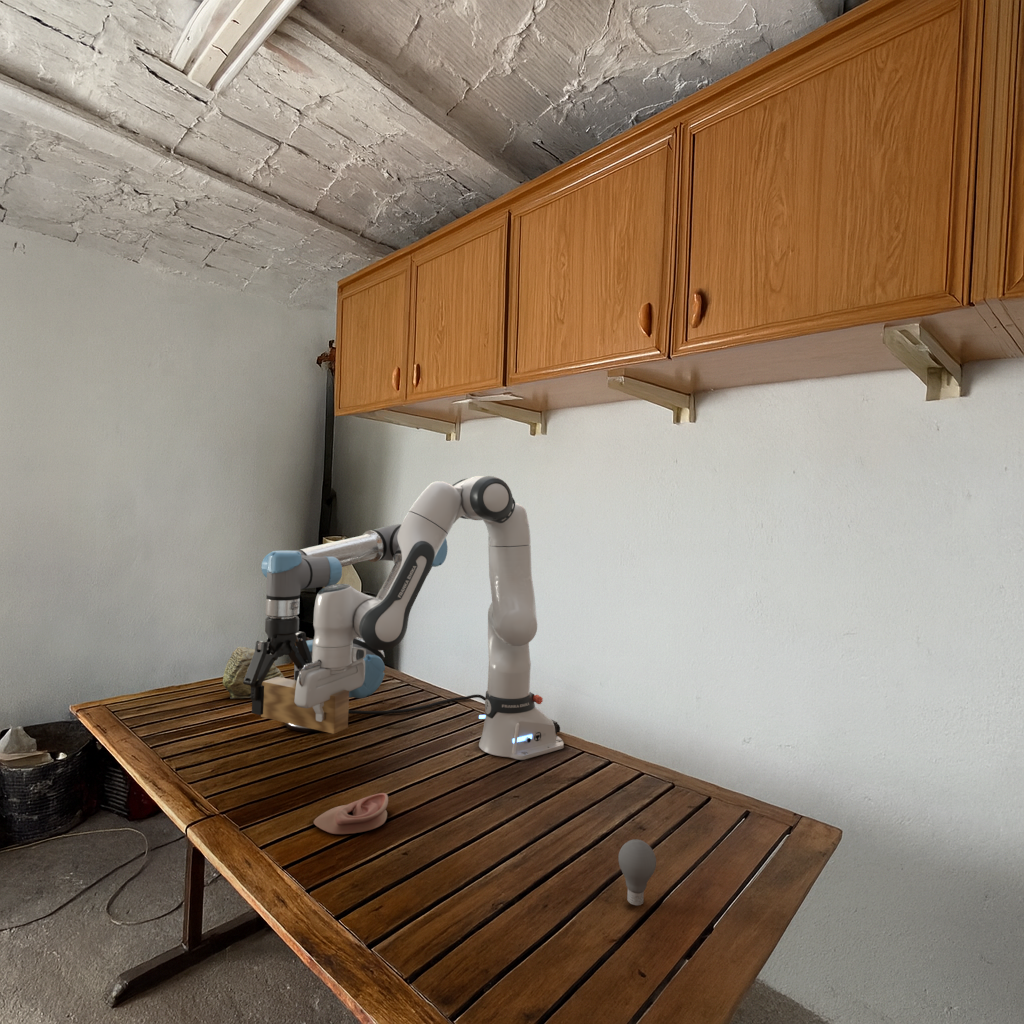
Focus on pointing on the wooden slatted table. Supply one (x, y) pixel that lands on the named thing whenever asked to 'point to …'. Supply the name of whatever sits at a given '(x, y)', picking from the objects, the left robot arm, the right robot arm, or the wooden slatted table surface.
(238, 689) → the fossil
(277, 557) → the left robot arm
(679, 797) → the wooden slatted table surface
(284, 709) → the bar
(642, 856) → the light bulb
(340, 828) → the anatomical model
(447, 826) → the wooden slatted table surface
